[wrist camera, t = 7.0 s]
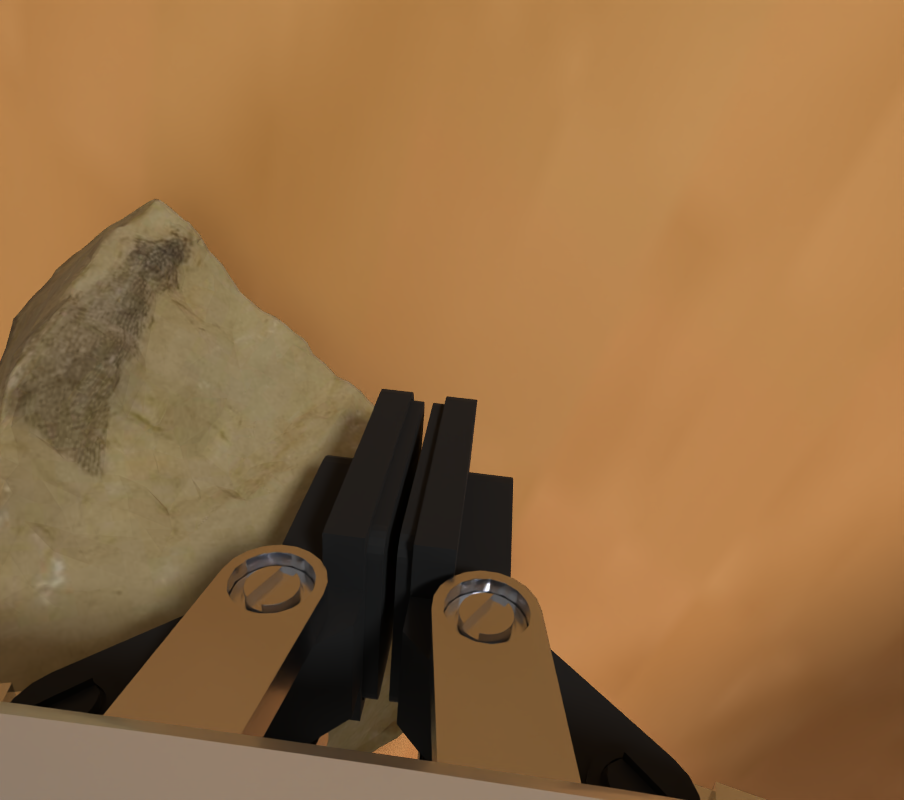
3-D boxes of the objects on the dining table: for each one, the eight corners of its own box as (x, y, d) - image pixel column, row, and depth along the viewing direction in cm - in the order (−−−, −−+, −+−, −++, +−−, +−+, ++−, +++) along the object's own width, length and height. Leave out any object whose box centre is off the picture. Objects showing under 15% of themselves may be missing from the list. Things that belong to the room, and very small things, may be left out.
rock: (-164, 213, 12) (4, 668, 15) (-637, 366, 4) (-96, 1150, 8) (429, 174, 16) (443, 542, 19) (701, 219, 8) (637, 790, 12)
